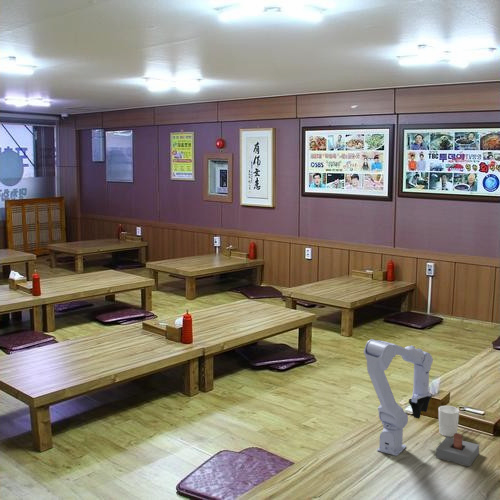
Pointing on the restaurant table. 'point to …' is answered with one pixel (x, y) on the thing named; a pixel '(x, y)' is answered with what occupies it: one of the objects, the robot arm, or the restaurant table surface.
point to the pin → (458, 441)
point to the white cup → (448, 420)
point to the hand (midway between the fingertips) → (420, 414)
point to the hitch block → (457, 452)
